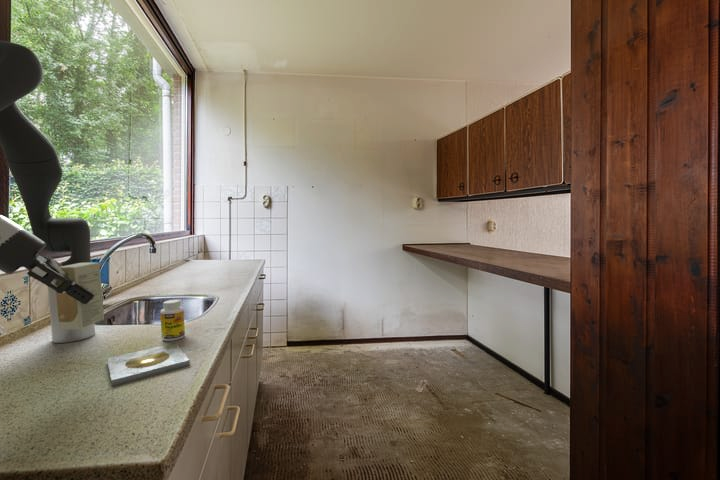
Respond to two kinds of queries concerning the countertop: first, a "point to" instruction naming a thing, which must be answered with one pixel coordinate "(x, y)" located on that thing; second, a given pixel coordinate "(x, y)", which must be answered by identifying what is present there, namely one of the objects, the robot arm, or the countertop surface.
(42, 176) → the robot arm
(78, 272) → the skincare box
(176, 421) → the countertop surface
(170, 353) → the grey square plate
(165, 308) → the supplement bottle
